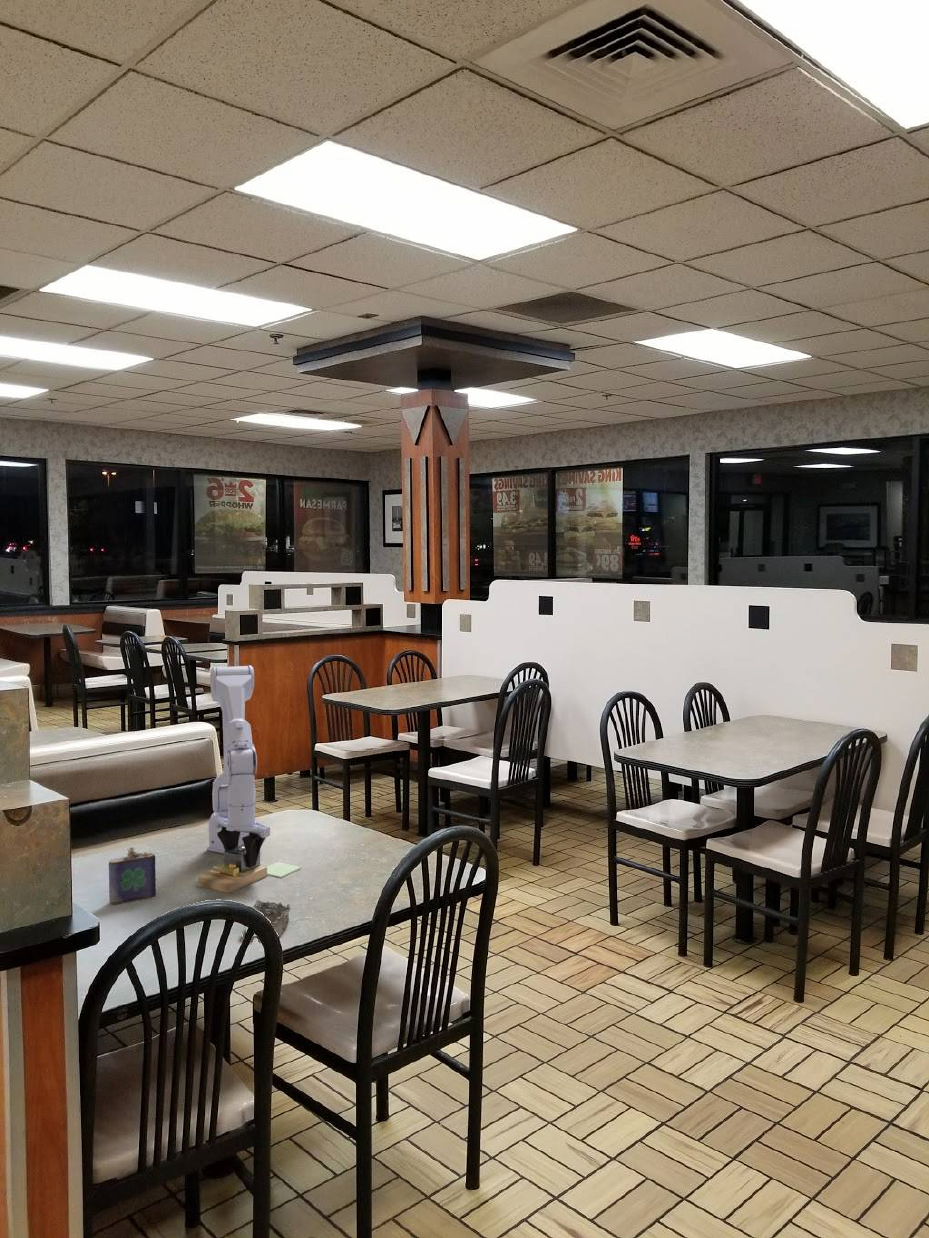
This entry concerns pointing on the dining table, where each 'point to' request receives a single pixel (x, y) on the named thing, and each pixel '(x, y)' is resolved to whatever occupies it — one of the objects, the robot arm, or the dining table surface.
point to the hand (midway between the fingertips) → (242, 863)
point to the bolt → (230, 870)
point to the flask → (132, 877)
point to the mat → (281, 869)
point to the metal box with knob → (239, 858)
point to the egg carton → (274, 914)
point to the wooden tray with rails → (230, 879)
